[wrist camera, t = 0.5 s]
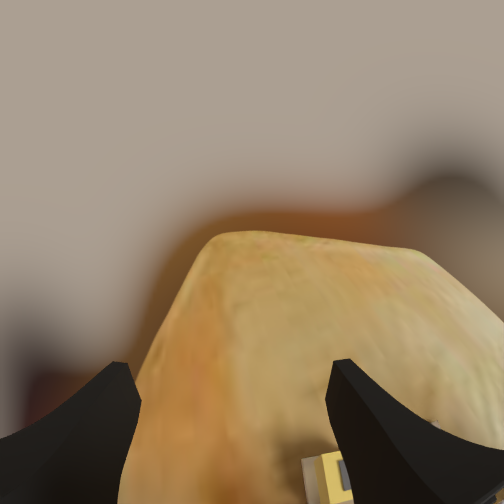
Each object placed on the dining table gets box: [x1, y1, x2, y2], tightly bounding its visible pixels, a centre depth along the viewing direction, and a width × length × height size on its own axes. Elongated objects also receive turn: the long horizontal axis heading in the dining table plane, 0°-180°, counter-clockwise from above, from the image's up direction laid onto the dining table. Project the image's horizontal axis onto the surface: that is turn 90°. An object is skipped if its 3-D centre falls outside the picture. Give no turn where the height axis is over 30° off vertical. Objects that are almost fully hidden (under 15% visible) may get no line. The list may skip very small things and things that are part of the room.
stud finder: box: [314, 451, 353, 504], centre depth 16 cm, size 5×4×3 cm
